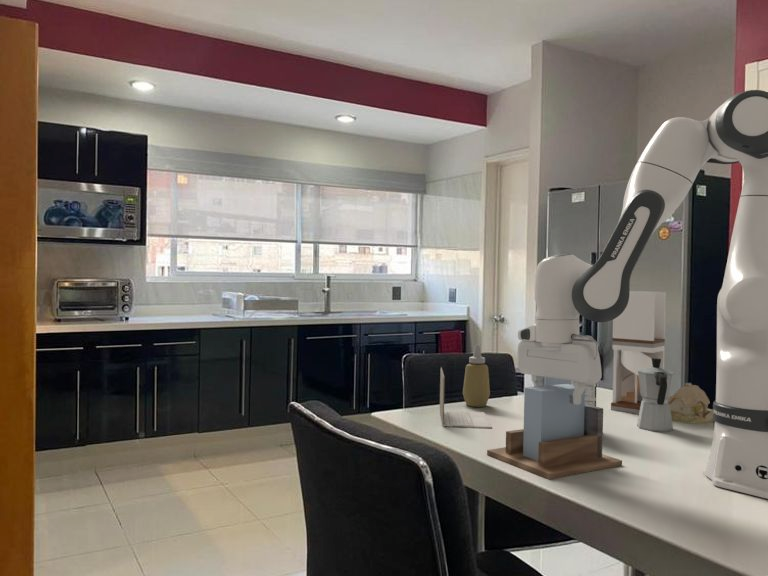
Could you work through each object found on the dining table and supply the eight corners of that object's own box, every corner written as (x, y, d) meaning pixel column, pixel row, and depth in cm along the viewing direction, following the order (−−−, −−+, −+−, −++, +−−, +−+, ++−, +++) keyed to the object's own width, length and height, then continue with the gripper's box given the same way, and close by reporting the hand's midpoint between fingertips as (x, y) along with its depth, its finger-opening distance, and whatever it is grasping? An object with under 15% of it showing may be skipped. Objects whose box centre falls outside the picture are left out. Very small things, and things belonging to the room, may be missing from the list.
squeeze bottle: (462, 402, 186) (463, 343, 186) (489, 403, 185) (490, 344, 185) (462, 407, 178) (463, 345, 178) (490, 408, 177) (491, 346, 177)
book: (583, 454, 127) (584, 387, 127) (540, 462, 121) (542, 391, 121) (565, 448, 131) (566, 383, 131) (523, 455, 125) (524, 387, 125)
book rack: (621, 465, 123) (623, 410, 123) (549, 479, 113) (550, 420, 113) (556, 444, 139) (557, 395, 139) (487, 454, 129) (488, 402, 129)
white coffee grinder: (610, 409, 180) (613, 290, 179) (623, 404, 188) (626, 291, 187) (651, 415, 172) (654, 291, 172) (663, 410, 180) (665, 291, 180)
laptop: (492, 430, 153) (493, 378, 153) (441, 428, 153) (442, 376, 153) (484, 414, 171) (485, 368, 171) (439, 413, 171) (440, 367, 171)
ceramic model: (687, 425, 162) (688, 387, 162) (653, 416, 172) (654, 381, 172) (723, 421, 168) (724, 385, 168) (688, 413, 178) (689, 378, 178)
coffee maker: (631, 421, 164) (633, 354, 164) (666, 423, 163) (668, 356, 163) (643, 434, 150) (645, 361, 150) (682, 437, 148) (684, 363, 148)
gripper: (608, 335, 118) (609, 406, 118) (533, 330, 136) (534, 392, 136) (585, 336, 115) (586, 410, 115) (512, 331, 133) (513, 394, 133)
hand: (557, 400), depth 126 cm, fingers open, 8 cm apart
